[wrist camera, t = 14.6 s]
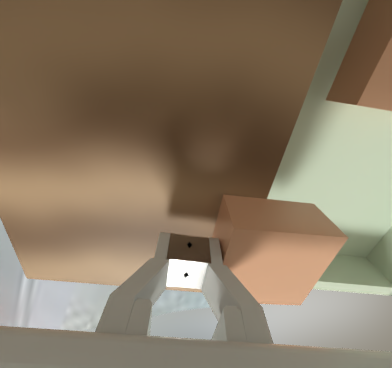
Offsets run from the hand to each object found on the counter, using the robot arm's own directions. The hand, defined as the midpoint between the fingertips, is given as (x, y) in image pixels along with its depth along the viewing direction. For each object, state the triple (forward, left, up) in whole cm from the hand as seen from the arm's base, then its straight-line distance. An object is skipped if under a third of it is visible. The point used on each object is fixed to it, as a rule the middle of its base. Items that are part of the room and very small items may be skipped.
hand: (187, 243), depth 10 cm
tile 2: (0, +4, -1) cm, 4 cm away
